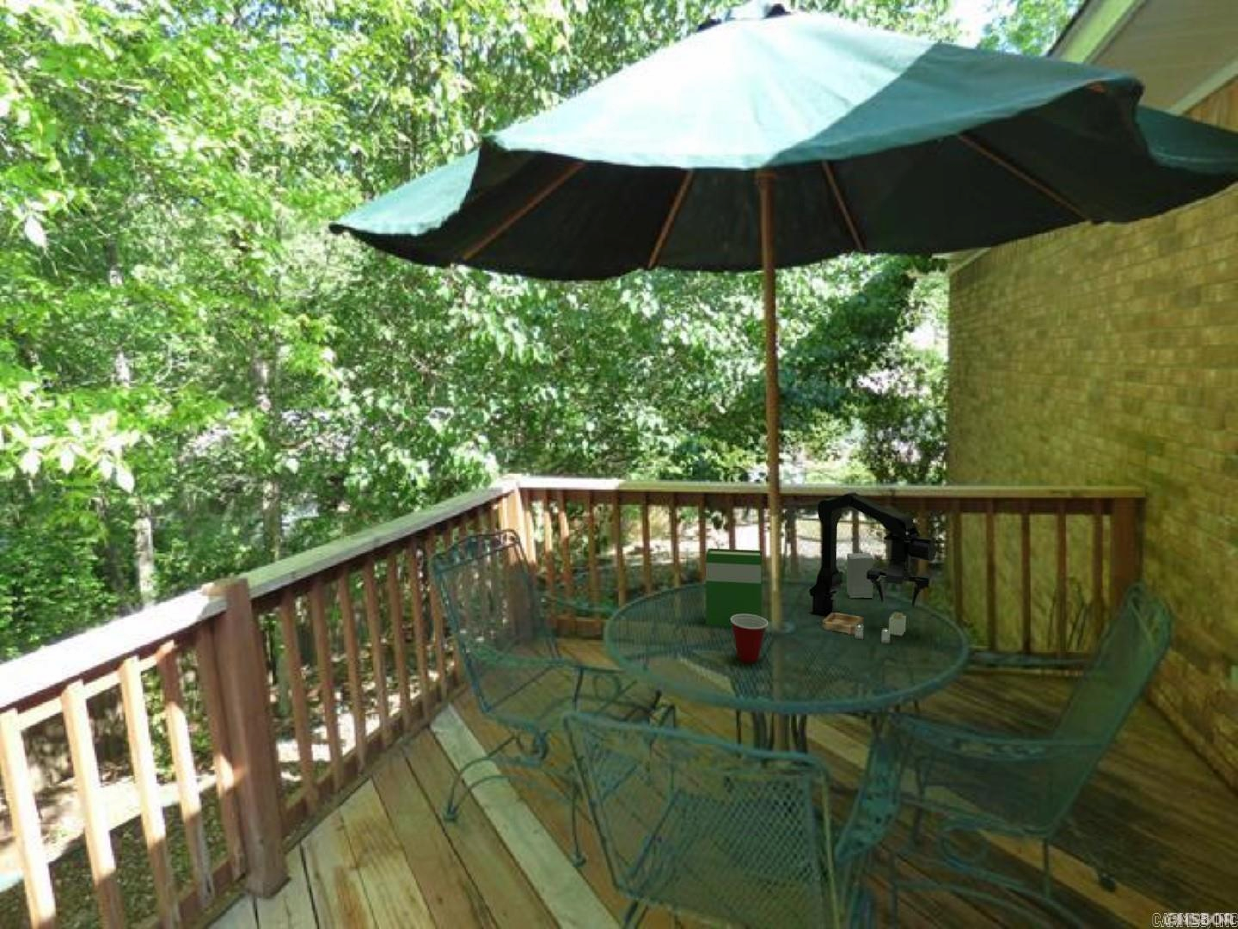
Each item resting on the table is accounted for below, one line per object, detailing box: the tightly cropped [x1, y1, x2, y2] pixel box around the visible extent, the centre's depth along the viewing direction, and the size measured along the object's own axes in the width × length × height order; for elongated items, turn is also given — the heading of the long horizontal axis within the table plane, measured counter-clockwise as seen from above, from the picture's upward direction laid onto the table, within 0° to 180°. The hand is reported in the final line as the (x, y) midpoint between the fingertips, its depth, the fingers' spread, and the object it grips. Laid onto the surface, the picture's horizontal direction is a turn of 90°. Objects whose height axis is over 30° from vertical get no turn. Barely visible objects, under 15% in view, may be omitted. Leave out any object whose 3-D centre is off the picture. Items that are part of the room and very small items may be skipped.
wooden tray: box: [821, 612, 864, 636], centre depth 246 cm, size 10×11×2 cm
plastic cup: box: [730, 614, 769, 664], centre depth 219 cm, size 11×11×12 cm
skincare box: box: [846, 552, 874, 599], centre depth 276 cm, size 8×7×16 cm
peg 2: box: [880, 627, 891, 645], centre depth 232 cm, size 2×2×4 cm
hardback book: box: [705, 547, 763, 628], centre depth 250 cm, size 18×7×24 cm, turn 78°
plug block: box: [888, 611, 907, 637], centre depth 241 cm, size 4×5×6 cm
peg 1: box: [854, 624, 864, 640], centre depth 236 cm, size 2×2×4 cm
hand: (897, 603), depth 240 cm, fingers open, 9 cm apart
